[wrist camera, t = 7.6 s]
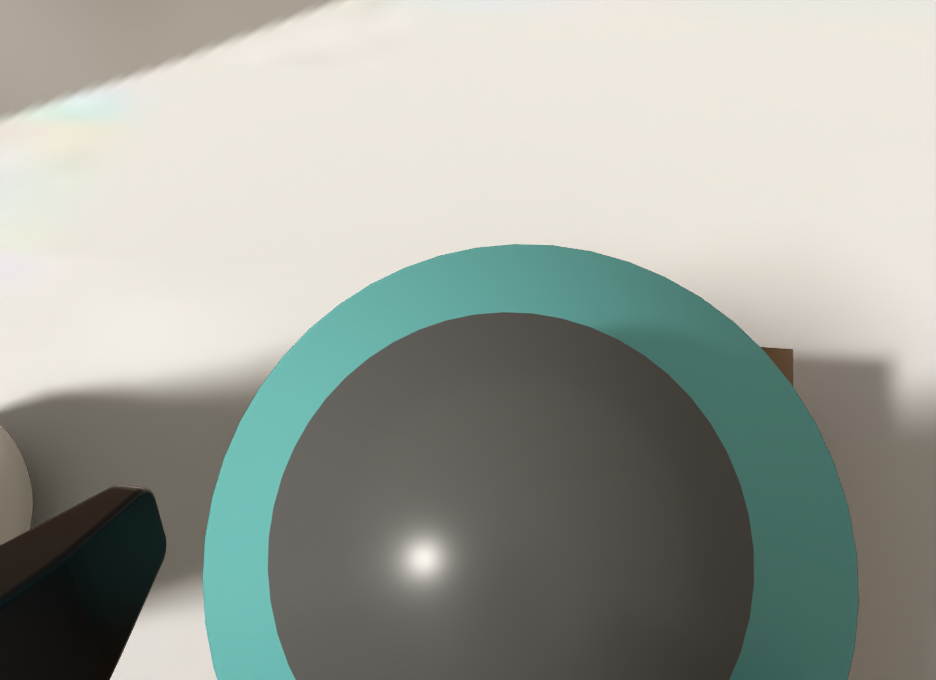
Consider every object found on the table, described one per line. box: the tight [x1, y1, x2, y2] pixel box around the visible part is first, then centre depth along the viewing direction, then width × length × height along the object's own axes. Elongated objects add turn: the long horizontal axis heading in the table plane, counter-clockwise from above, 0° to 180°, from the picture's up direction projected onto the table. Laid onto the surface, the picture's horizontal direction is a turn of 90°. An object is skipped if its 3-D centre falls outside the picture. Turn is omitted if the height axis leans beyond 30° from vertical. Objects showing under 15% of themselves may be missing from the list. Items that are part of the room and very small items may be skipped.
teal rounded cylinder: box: [203, 244, 859, 680], centre depth 11 cm, size 4×4×14 cm
